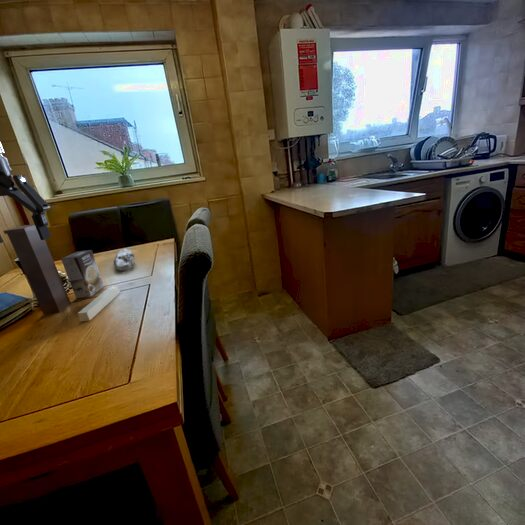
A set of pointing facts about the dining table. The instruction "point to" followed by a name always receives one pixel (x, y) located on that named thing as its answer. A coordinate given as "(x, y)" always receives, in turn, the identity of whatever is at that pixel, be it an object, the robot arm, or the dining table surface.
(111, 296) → the switch bar
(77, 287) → the coffee box
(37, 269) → the walnut post
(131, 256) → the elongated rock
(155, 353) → the dining table surface
